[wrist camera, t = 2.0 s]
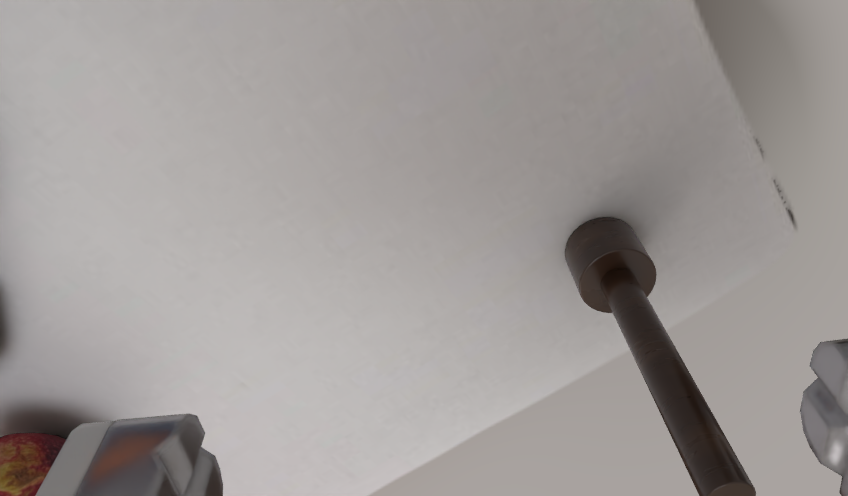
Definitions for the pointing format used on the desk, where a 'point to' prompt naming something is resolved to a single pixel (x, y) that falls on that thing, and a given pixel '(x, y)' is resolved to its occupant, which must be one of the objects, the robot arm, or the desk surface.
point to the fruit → (26, 461)
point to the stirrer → (653, 349)
